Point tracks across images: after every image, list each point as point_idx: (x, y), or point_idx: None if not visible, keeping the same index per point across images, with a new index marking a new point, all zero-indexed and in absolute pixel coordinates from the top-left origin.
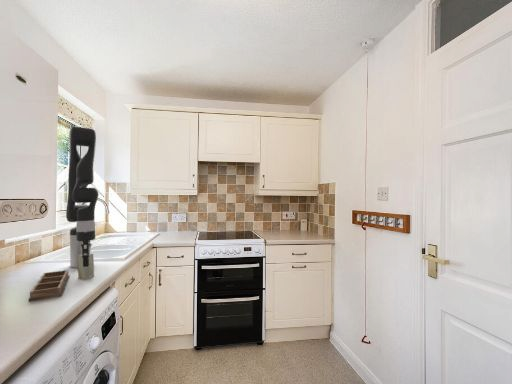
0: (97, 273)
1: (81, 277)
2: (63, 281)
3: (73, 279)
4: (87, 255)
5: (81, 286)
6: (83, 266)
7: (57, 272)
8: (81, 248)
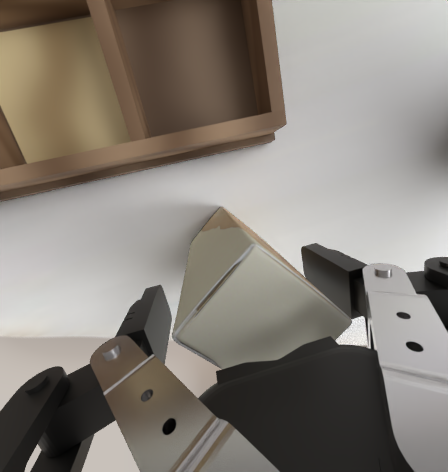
0: None
1: (201, 230)
2: (21, 183)
3: (215, 182)
4: (36, 460)
5: (75, 267)
6: (146, 290)
7: (261, 51)
8: (189, 457)
